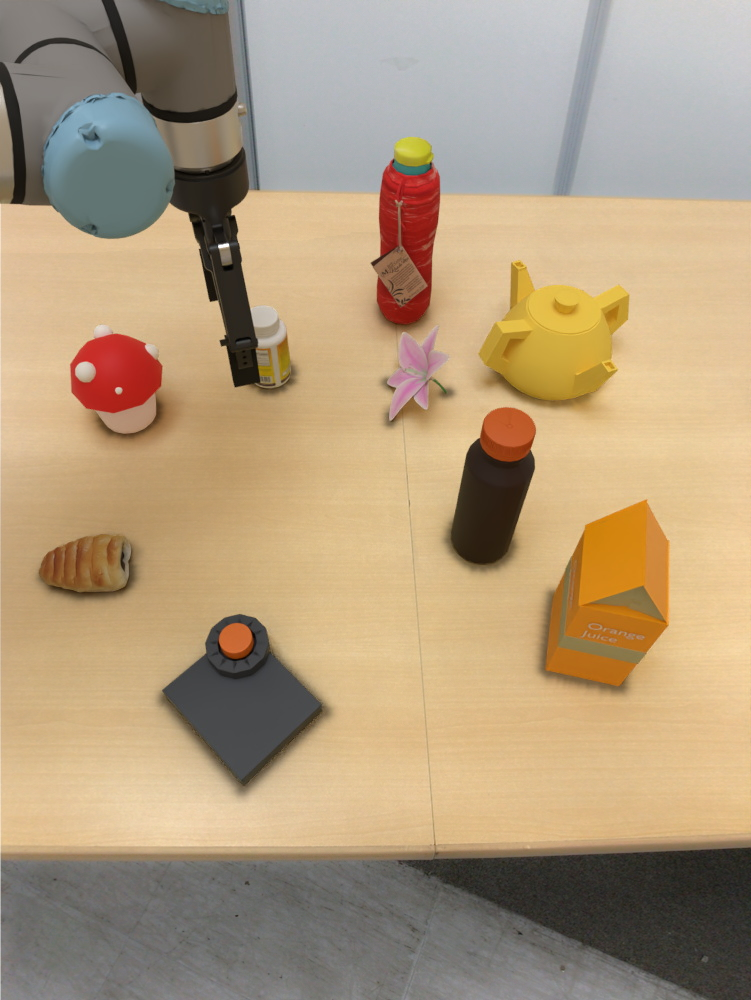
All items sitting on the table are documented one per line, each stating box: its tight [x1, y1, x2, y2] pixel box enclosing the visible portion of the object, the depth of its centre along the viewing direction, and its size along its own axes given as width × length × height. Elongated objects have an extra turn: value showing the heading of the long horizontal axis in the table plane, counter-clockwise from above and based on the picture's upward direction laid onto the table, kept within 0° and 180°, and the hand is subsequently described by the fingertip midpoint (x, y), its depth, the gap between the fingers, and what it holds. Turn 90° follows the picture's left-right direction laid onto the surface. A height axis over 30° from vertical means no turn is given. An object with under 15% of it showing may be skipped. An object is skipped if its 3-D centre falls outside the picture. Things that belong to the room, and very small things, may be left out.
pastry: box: [37, 533, 132, 593], centre depth 80 cm, size 9×7×4 cm
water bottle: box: [370, 136, 441, 325], centre depth 95 cm, size 12×8×25 cm, turn 161°
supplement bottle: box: [250, 304, 292, 389], centre depth 94 cm, size 6×6×10 cm
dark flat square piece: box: [161, 613, 323, 786], centre depth 72 cm, size 13×11×4 cm
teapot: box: [477, 259, 630, 402], centre depth 95 cm, size 17×17×12 cm
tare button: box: [219, 623, 254, 659], centre depth 73 cm, size 3×3×2 cm
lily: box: [386, 324, 451, 422], centre depth 94 cm, size 12×12×10 cm
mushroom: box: [69, 324, 164, 435], centre depth 89 cm, size 11×11×12 cm
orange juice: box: [544, 498, 670, 687], centre depth 70 cm, size 8×9×20 cm
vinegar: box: [450, 406, 537, 565], centre depth 76 cm, size 7×7×20 cm
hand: (233, 338), depth 80 cm, fingers open, 13 cm apart
